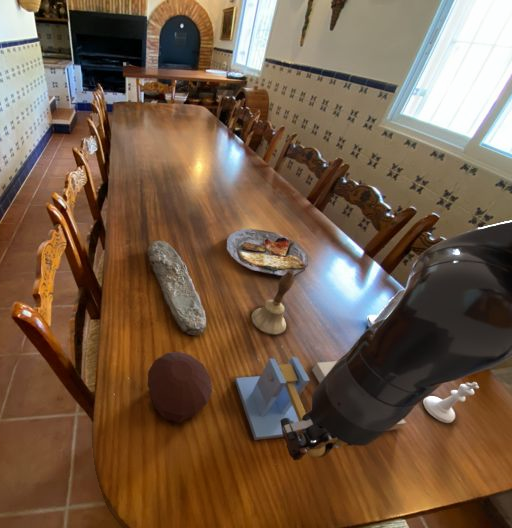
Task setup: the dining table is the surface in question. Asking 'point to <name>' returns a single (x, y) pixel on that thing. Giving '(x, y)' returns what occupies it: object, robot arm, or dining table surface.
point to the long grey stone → (177, 288)
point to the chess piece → (448, 402)
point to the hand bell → (274, 309)
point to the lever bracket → (270, 398)
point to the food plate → (266, 252)
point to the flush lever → (297, 401)
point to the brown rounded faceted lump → (178, 386)
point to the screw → (385, 309)
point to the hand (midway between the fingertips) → (304, 451)
